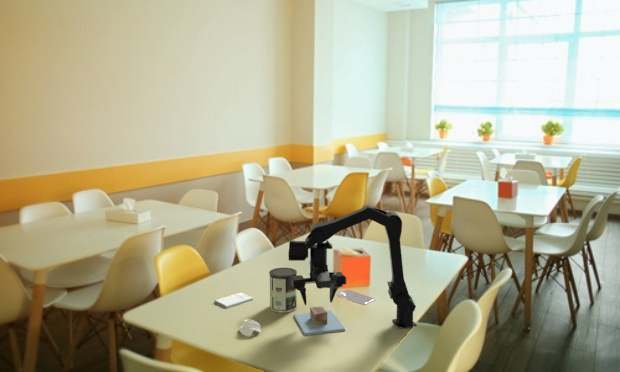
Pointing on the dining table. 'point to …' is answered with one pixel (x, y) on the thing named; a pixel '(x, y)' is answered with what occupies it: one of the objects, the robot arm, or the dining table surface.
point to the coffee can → (282, 290)
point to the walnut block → (318, 315)
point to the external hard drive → (233, 300)
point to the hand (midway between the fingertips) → (318, 303)
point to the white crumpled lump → (249, 327)
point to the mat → (311, 329)
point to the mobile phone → (356, 297)
